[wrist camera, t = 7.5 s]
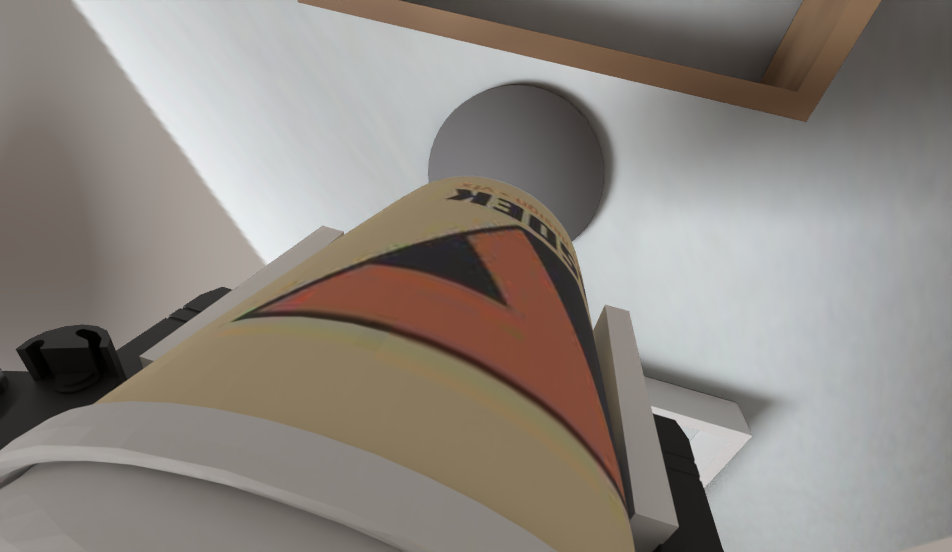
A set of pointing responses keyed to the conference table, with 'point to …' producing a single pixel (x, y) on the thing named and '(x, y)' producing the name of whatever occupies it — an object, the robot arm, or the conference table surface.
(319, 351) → the coffee cup
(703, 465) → the gray rectangular frame
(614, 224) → the conference table surface
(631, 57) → the frame
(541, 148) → the coaster
